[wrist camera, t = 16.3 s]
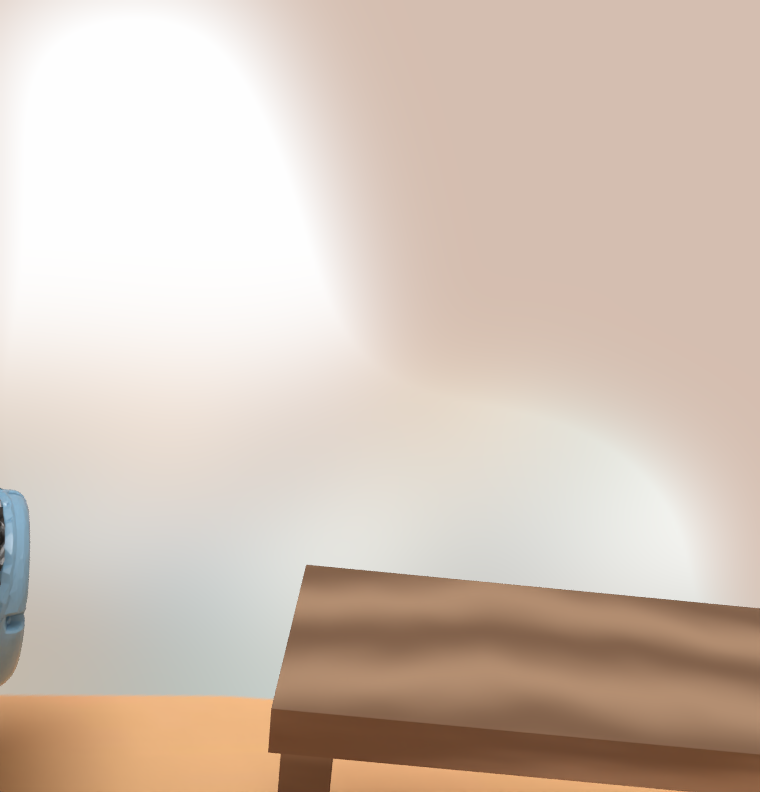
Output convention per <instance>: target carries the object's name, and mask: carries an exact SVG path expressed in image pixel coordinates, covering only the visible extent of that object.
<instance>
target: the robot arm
mask: <svg viewBox="0 0 760 792" xmlns="http://www.w3.org/2000/svg"><path fill="white" fill-rule="evenodd" d="M29 560H30V522H29V510H28V506H27V503H26V500H25V499H24V496H23V495H22V494H21V493H19V492H18V491H15V490H6V489H1V488H0V686H1V685H3V684H4V683H5V682H6V681H7V680H8V679H9V678H10V677H11V676H12V674H13V673H14V670H15V669H16V666H17V664H18V661H19V657H20V652H21V647H22V642H23V634H24V612H25V609H26V602H27V596H28V582H29Z"/></svg>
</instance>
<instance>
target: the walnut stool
mask: <svg viewBox="0 0 760 792" xmlns="http://www.w3.org/2000/svg"><path fill="white" fill-rule="evenodd" d="M268 752H270V753H280V754H281V758H280V771H279V784H278V792H330V782H331V772H332V762H333V758H334V759H345V760H355V761H366V762H377V763H388V764H398V765H409V766H420V767H430V768H441V769H452V770H463V771H473V772H484V773H495V774H506V775H516V776H527V777H538V778H548V779H559V780H570V781H581V782H591V783H602V784H613V785H623V786H634V787H645V788H656V789H666V790H677V791H688V792H760V608H748V607H739V606H728V605H718V604H708V603H697V602H687V601H677V600H666V599H656V598H645V597H635V596H625V595H614V594H603V593H594V592H582V591H572V590H562V589H552V588H542V587H531V586H520V585H510V584H499V583H490V582H479V581H469V580H458V579H448V578H438V577H428V576H417V575H407V574H396V573H385V572H375V571H365V570H354V569H345V568H334V567H324V566H313V565H306V568H305V572H304V576H303V581H302V585H301V589H300V593H299V597H298V601H297V605H296V609H295V614H294V618H293V622H292V626H291V630H290V635H289V638H288V642H287V647H286V651H285V655H284V659H283V663H282V667H281V671H280V675H279V679H278V684H277V688H276V692H275V696H274V700H273V704H272V708H271V722H270V735H269V749H268Z"/></svg>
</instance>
